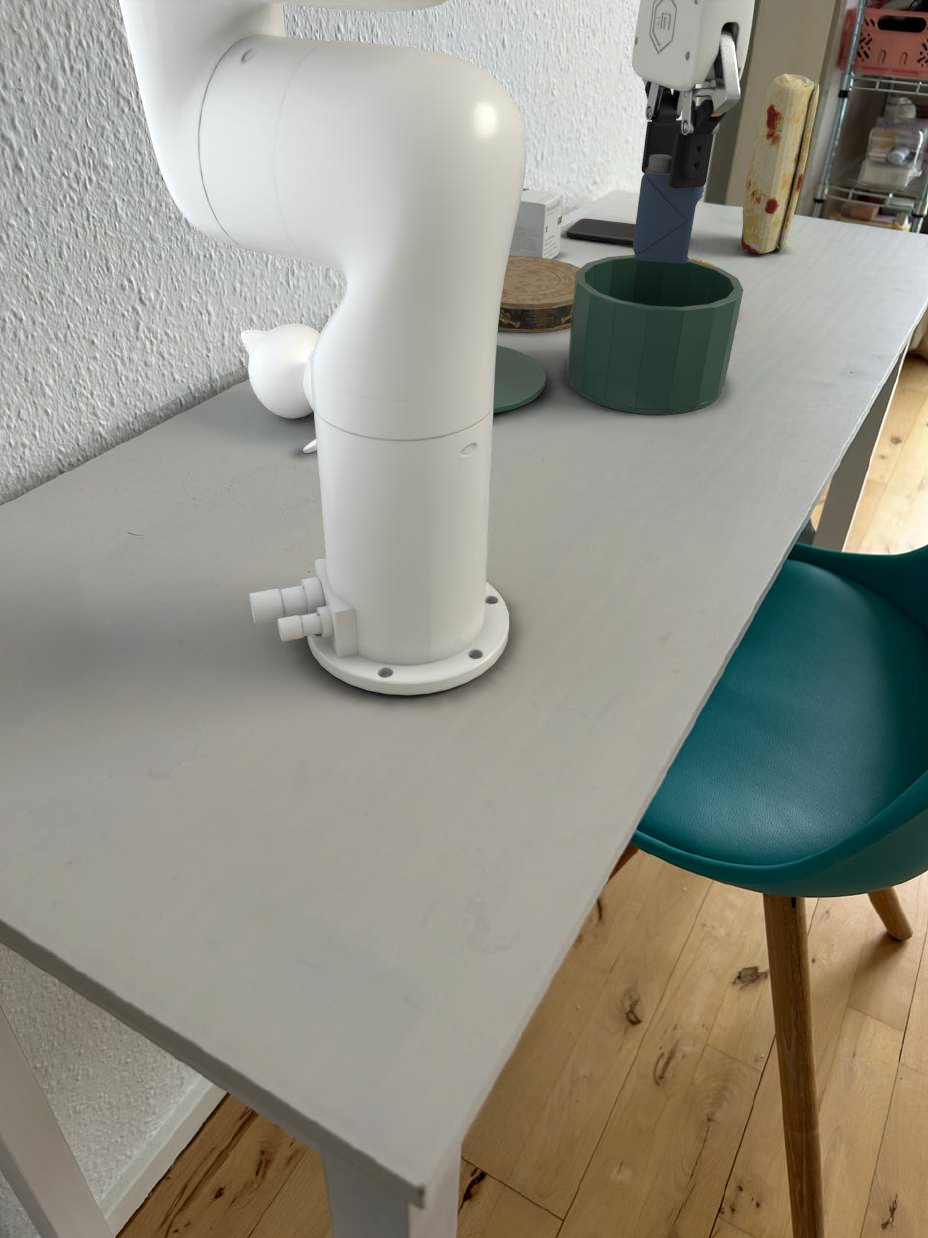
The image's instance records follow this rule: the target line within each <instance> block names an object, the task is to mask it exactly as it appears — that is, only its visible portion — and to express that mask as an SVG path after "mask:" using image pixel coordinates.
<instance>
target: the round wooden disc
mask: <svg viewBox="0 0 928 1238" xmlns="http://www.w3.org/2000/svg"><path fill="white" fill-rule="evenodd" d="M580 268H581V267H579V266H577V265H574V264H572V263H568V262H566V261H565V262H564V261H561V260H557V259H554V258H552V259H547V258H539V257H531V256H509V257H508V262H507V267H506V272H505V277H504V284H503V290H502V297H501V303H500V313H499V322H498V331H500V332H507V333H529V334H531V333H533V334H535V333H545V332H555V331H560V330H564V329H567V328H571V320H572V309H573V298H574V287H575V276H576V272H577V271H578V270H579V269H580Z"/></svg>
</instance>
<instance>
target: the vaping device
mask: <svg viewBox="0 0 928 1238" xmlns="http://www.w3.org/2000/svg"><path fill="white" fill-rule="evenodd" d="M699 106H700V105H696V110H697V109H698V107H699ZM671 161H672V156H670V155H664V154H654V155H650V158H649V167H647V168H646V169H645V170H646V171H645V173H643V174H642V177H641V180H640V188H639V196H638V202H637V210H636V219H635V224H636V225H635V233H634V241H633V245H632V250H633V252H634V254H633V255H634V256H635V257H636V259H638V260H641V261H650V262H662V263H673V264H678V263H687V262H688V261H689V259H690V257H688V256H689V250H690V243H691V238H692V232H693V226H694V219H695V214H696V207H697V205H698V203H699V201H700V200H701V199H702V198H703V194H704V192H705V185H704V186H702V187H691V188H676V189H675V188H672V187H670V186H669V175H670V168H671Z"/></svg>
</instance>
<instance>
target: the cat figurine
mask: <svg viewBox="0 0 928 1238" xmlns="http://www.w3.org/2000/svg"><path fill="white" fill-rule="evenodd" d="M320 333H321V332H319V331H318V330H316V329H315V328H314V327H311V326H309V325H306V324H302V323H296V322H295V323H286V324H285V323H284V324H281V325H278V326H275V327H274V328H271V329H269V330H260V329H245V330H243V331H242V332H241V333H240V338H241V341H242V344H243V345H244V348H245V349H246V351H247V353H248V364H247V365H248V367H247V369H248V370H247V371H248V372H247V373H248V379H249V383H250V387H251V389H252V390H253V392H254V395H255V396H256V398H257V399H258V401H259V402H260V403H261V404H262V405H263V406H264V407H265V408H266V409H267V410H268V411H270V412H271V413H273V414H274V415H276V416H279V417H281V418H285V419H300V418H304V417H306V416H309V415H311V414H312V413H314V407H313V399H312V387H311V363H312V356H313V351H314V347H315V344H316V342H317V339H318V337H319V335H320ZM302 452H303V453H305V454H310V453H313V452H317V442H316V438H315V439H313V440H312V441H311V442H309V443H308V444H307V445H305V446H304V447H303V449H302Z"/></svg>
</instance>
